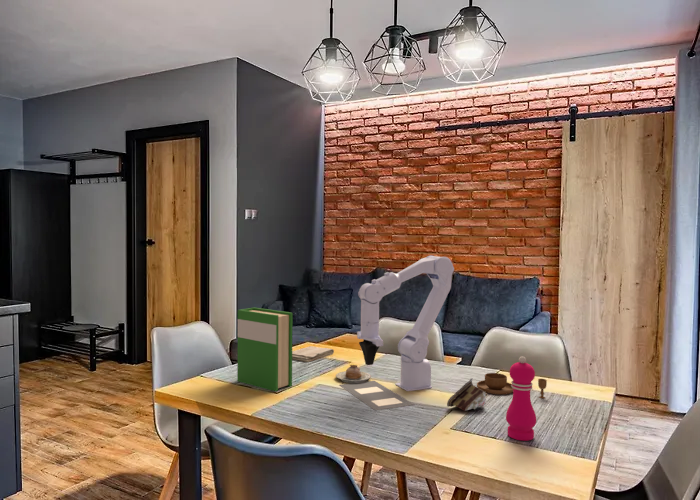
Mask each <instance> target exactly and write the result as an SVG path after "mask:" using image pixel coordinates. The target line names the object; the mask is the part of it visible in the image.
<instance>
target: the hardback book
mask: <svg viewBox="0 0 700 500" xmlns="http://www.w3.org/2000/svg"><path fill="white" fill-rule="evenodd" d="M293 323H294V322H293V312H289V311H283V310H276V309H267V308H263V307H262V308H259V307H250V308H249V307H248V308H241V309H237V369H236V371H237V373H236V374H237V376H236V378H237V379H236V381H237V382H240V383H244V384H247V385H251V386H253V387H257V388H262V389H265V390H269V391H272V392H279V389H280V388H284V387H289V388H290V387H292V386H293V360H292V351H293V326H294V325H293Z"/></svg>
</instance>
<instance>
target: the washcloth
mask: <svg viewBox="0 0 700 500" xmlns="http://www.w3.org/2000/svg"><path fill="white" fill-rule="evenodd" d="M334 351H335V350H334V349H332V348H327V347H319V346H318V347H317V346H312V345H311V346H307V347H302V348H300V349H296V350H294V351H293V350H292V361H293V360H294V361H299V362H305V363H309V362H313V361H317V360H320V359H324V358H326V357H329V356H331V355H333V354H334V353H335V352H334Z"/></svg>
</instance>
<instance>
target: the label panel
mask: <svg viewBox="0 0 700 500" xmlns="http://www.w3.org/2000/svg"><path fill="white" fill-rule="evenodd" d="M339 387H341V388H343V389H344V390H345V391H347V392H348V393H349V394H351V395H352V396H353V397H355V398H357V399H358V400H359V401H361V402H362V403H364V404H365V405H366V406H368V407H369V408H371V409H373V411H380V410H381V411H382V410H388V409H389V410H390V409H396V408H402V407H408V406H415V403H413V402H411V401H409V400H408V399H406V398H405V397H403V396H401V395H400V394H397V393H396V392H394V391H393V390H391V389H389V388H388V387H386V386H384V385H383V384H381V383H379V382H378V381H376V380H370V381H369V380H368V381H366V382H363V383H342V384H339Z"/></svg>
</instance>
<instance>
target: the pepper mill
mask: <svg viewBox="0 0 700 500" xmlns="http://www.w3.org/2000/svg"><path fill="white" fill-rule="evenodd" d="M509 376H510V378H511V379H512V381H511V384H512V385H511V387H512V388H513V392H512V400H511V401H510V403H509V406H508V408H507V410H506V413H505V420H506V422H507V424H508V426H507V436H508V437H509V438H511V439H514V440H517V441H521V442H522V441H526V442H527V441H532V440H533V439H534V438H535V430H534V429H533V428H534V427H535V426H536V424H537V415H536V410H534V407H533V404H532V401H531V400H532V399H531V390H533V385H534V384H533V381H534V379H535V378H536V372H535V369H534V367H533V366H532V365H531V364H529V363H528V362H527V358H526V357H525V356H522V355H521V356H520V357H519V358H518V362H515V363H513V364H512V365H511V366H510V368H509Z"/></svg>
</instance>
